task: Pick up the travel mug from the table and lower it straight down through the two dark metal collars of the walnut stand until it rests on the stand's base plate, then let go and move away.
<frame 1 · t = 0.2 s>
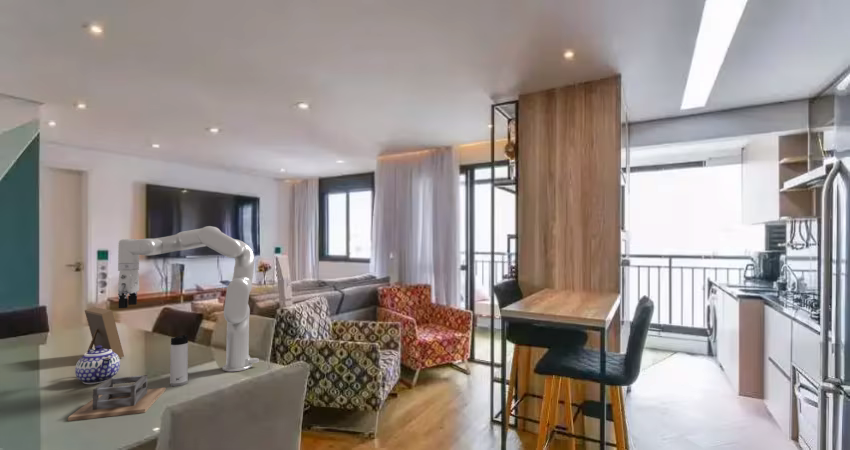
hand: (127, 306, 179), 31 cm above the table, tool pointing down, fingers open, 9 cm apart
travel mug: (179, 384, 169), on the table
collar stand: (121, 404, 148), on the table
photo frame: (97, 359, 208), on the table
teapot: (97, 380, 175), on the table
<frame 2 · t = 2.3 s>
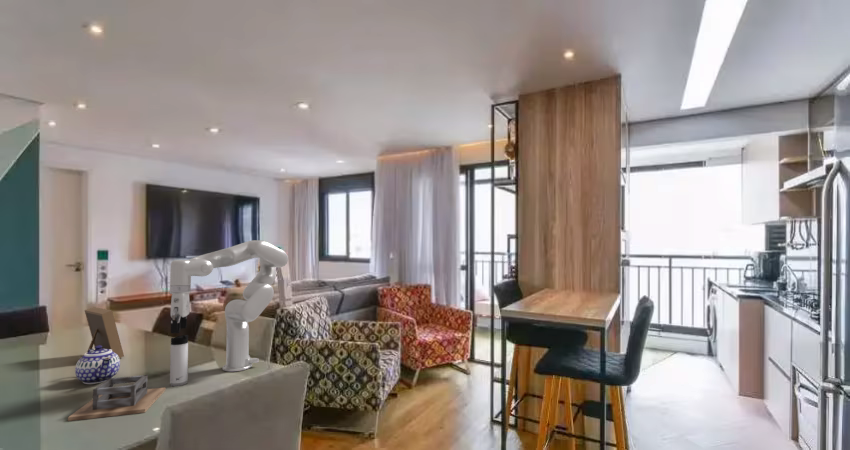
hand: (178, 330, 170), 22 cm above the table, tool pointing down, fingers open, 9 cm apart
nothing on the table moved.
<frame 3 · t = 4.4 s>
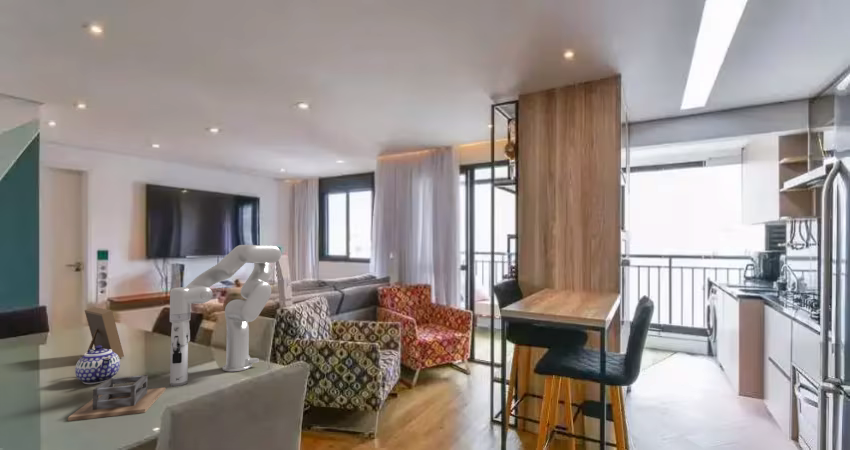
hand: (179, 360, 170), 10 cm above the table, tool pointing down, fingers closed on travel mug, 6 cm apart
travel mug: (179, 384, 169), on the table, touching gripper
everything else where it was.
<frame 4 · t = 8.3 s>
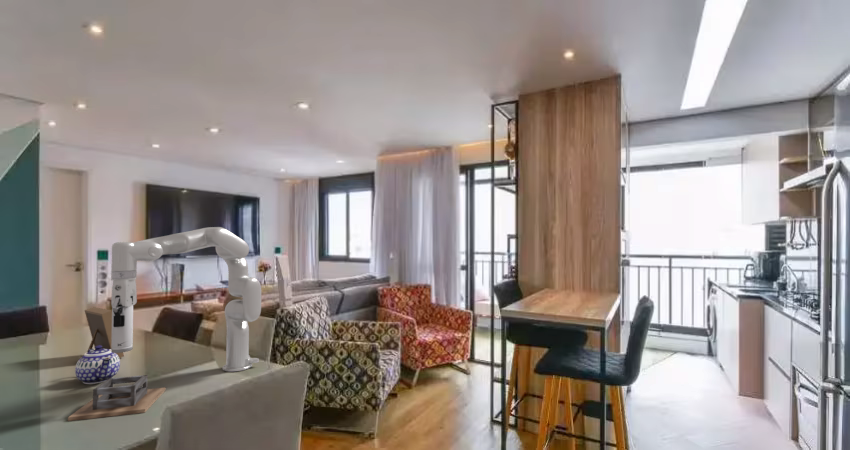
hand: (123, 324, 149), 29 cm above the table, tool pointing down, fingers closed on travel mug, 6 cm apart
travel mug: (122, 351, 149), point 19 cm above the table, touching gripper
everything else where it was.
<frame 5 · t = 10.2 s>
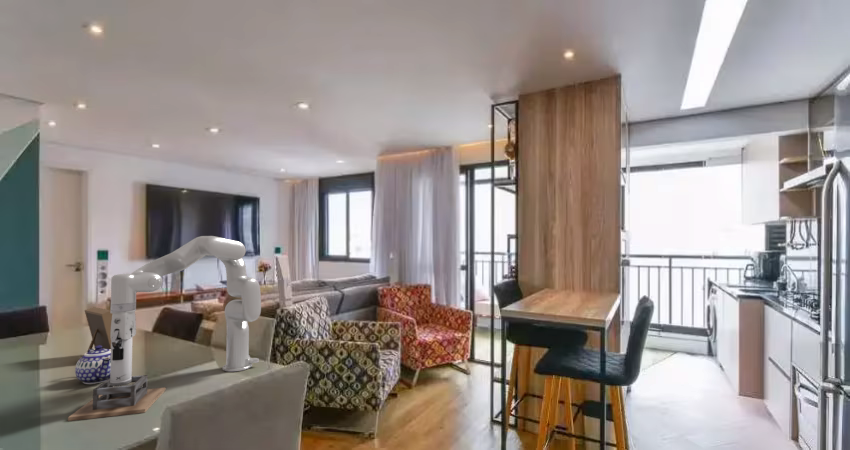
hand: (122, 356, 149), 17 cm above the table, tool pointing down, fingers closed on travel mug, 6 cm apart
travel mug: (121, 384, 148), point 7 cm above the table, touching gripper
everything else where it was.
when the fingers open (12 cm above the table, at t = 12.2 s): travel mug drops 1 cm, resting on collar stand.
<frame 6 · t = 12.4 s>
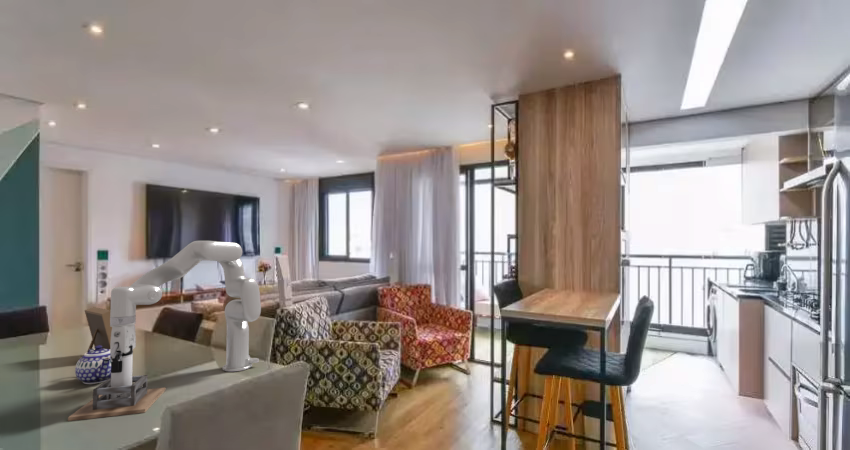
hand: (122, 368, 149), 13 cm above the table, tool pointing down, fingers open, 8 cm apart
travel mug: (121, 401, 148), point 1 cm above the table, touching collar stand
everything else where it was.
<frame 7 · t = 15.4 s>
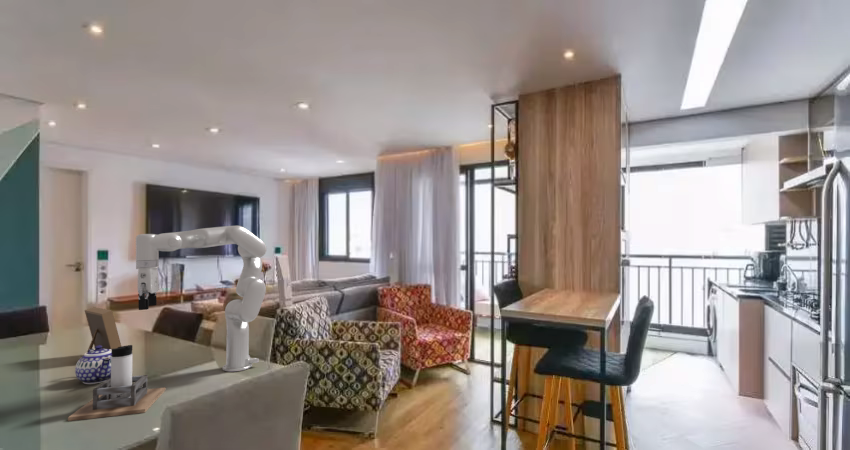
hand: (147, 307, 163), 33 cm above the table, tool pointing down, fingers open, 9 cm apart
nothing on the table moved.
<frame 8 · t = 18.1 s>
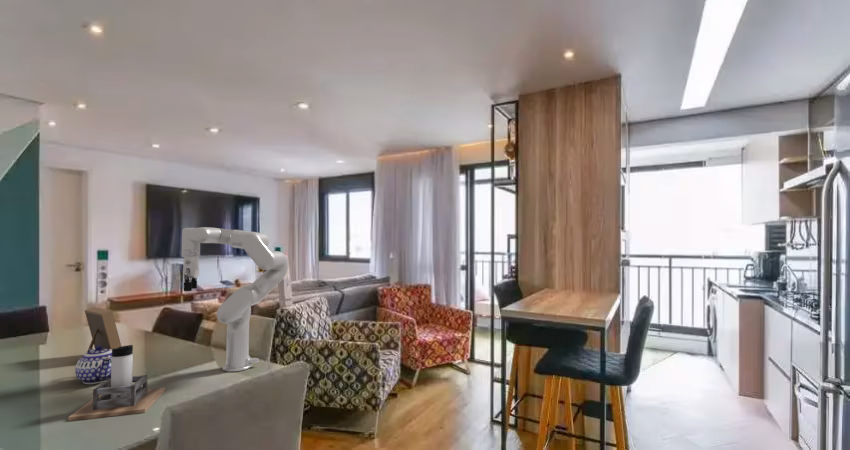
hand: (190, 289, 193), 36 cm above the table, tool pointing down, fingers open, 9 cm apart
nothing on the table moved.
at the end: travel mug 0.3 cm off-centre on the collar stand, point 1.0 cm above the collar stand's base; travel mug tilted 0°; the gripper is holding nothing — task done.
